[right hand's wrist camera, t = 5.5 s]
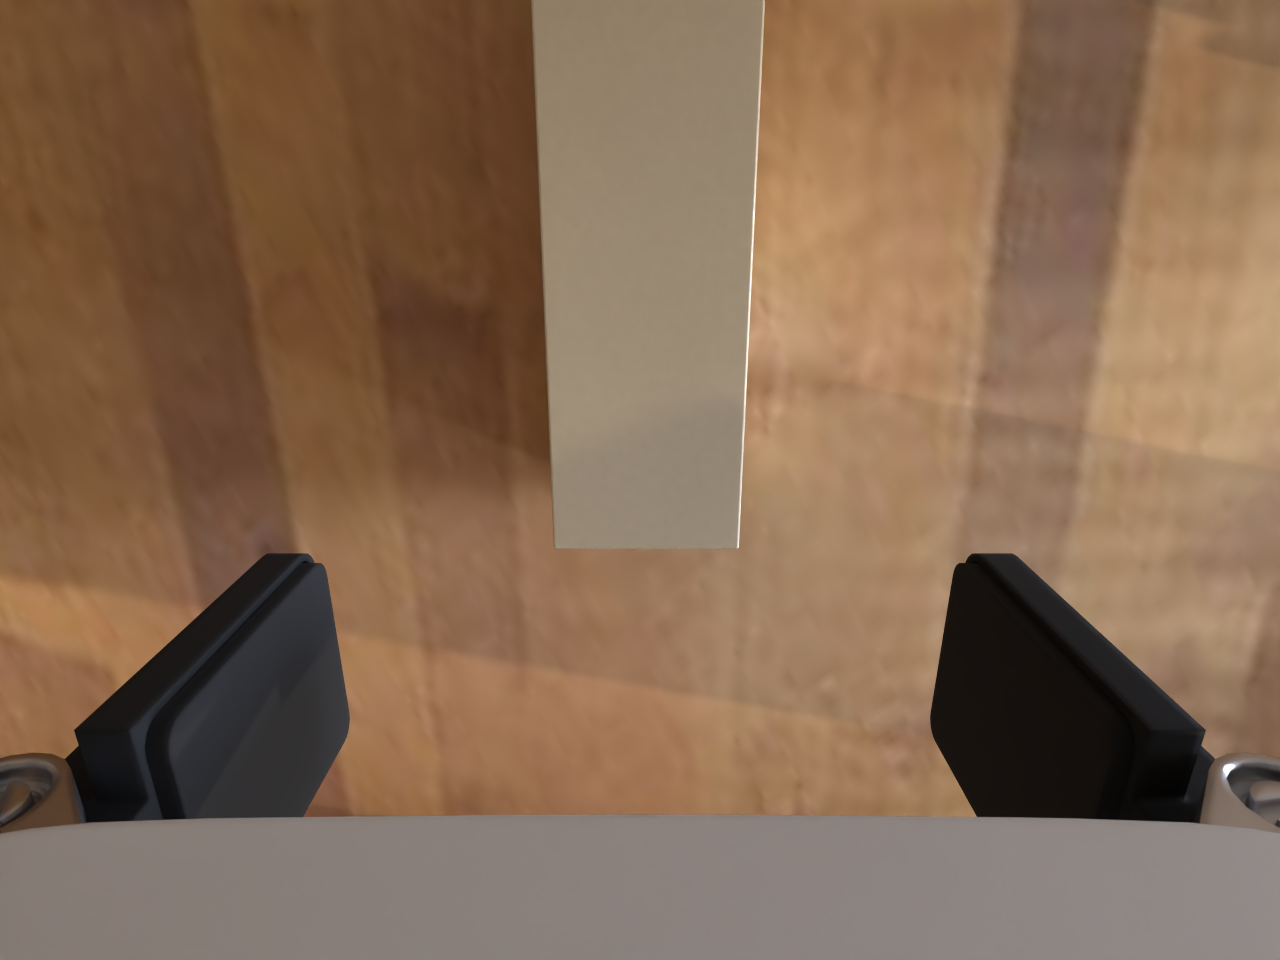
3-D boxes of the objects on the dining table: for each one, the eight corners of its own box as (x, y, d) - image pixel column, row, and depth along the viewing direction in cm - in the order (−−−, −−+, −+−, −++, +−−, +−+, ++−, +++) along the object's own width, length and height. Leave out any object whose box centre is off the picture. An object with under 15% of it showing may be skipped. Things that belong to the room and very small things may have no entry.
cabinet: (556, -98, 26) (520, -230, 18) (737, -98, 26) (776, -231, 18) (574, 474, 32) (553, 550, 25) (716, 474, 32) (739, 550, 25)
